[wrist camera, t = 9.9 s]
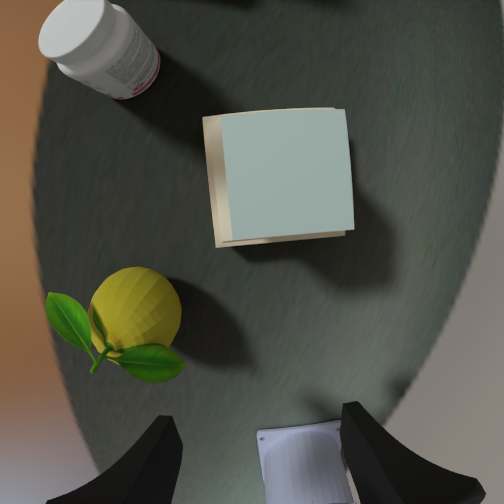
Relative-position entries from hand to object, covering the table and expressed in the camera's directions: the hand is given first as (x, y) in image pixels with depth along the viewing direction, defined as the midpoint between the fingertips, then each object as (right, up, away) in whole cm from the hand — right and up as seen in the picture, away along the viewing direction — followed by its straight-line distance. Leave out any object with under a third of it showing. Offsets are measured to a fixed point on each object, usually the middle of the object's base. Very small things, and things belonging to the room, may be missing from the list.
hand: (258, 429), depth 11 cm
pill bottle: (-9, +20, +6) cm, 23 cm away
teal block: (+1, +12, +5) cm, 13 cm away
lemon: (-7, +5, +10) cm, 13 cm away
